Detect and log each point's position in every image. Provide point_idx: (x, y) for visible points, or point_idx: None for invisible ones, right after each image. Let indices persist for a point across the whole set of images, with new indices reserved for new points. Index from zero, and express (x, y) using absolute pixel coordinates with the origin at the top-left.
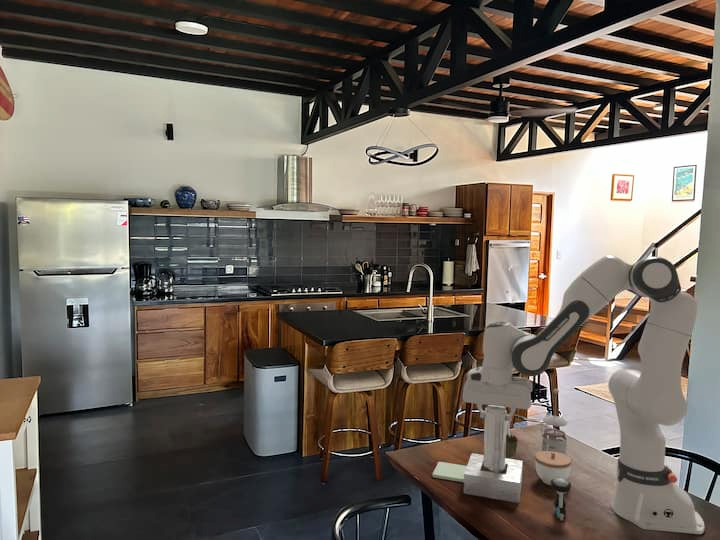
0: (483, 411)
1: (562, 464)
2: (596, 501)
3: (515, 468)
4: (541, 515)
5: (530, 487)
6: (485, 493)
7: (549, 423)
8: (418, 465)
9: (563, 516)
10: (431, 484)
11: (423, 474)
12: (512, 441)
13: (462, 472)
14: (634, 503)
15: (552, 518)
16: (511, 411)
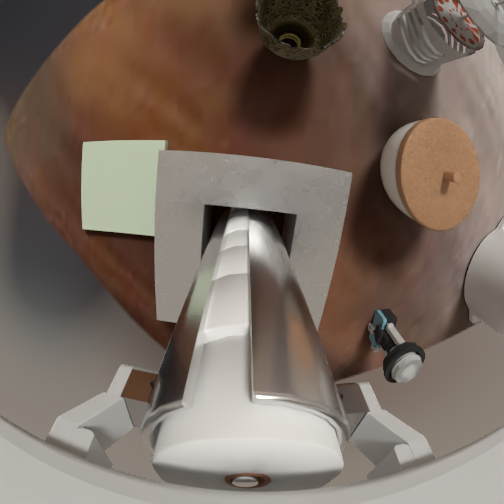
0: (130, 404)
1: (455, 224)
2: (456, 250)
3: (319, 244)
4: (342, 337)
5: (347, 215)
6: None
7: (479, 25)
8: (49, 170)
9: (377, 350)
10: (94, 265)
11: (67, 218)
12: (320, 4)
13: (150, 192)
14: (488, 323)
15: (359, 340)
16: (387, 431)
